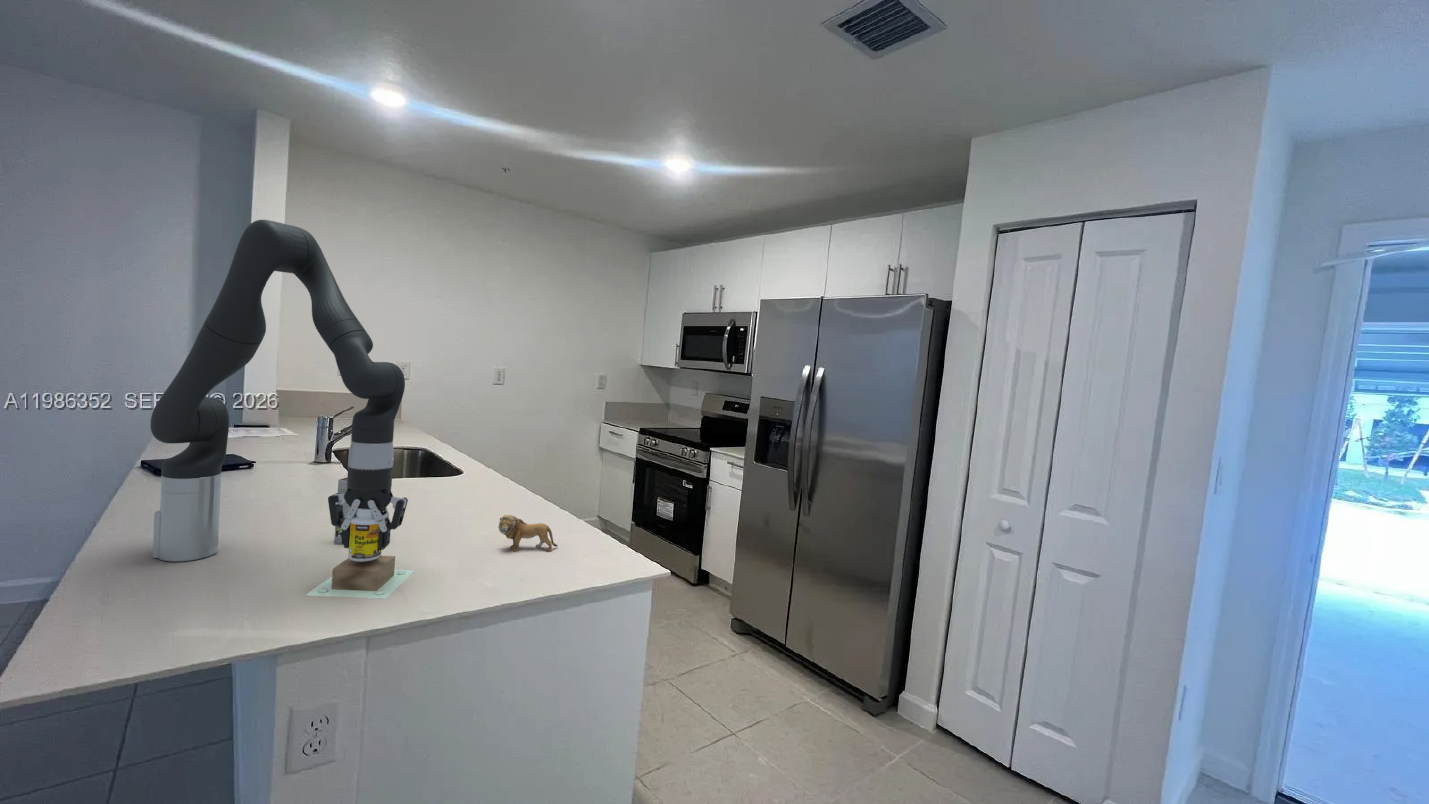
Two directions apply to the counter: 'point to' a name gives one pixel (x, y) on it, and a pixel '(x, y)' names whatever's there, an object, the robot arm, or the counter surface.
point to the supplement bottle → (364, 536)
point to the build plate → (382, 592)
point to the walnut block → (363, 574)
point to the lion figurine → (524, 531)
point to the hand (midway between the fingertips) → (365, 547)
